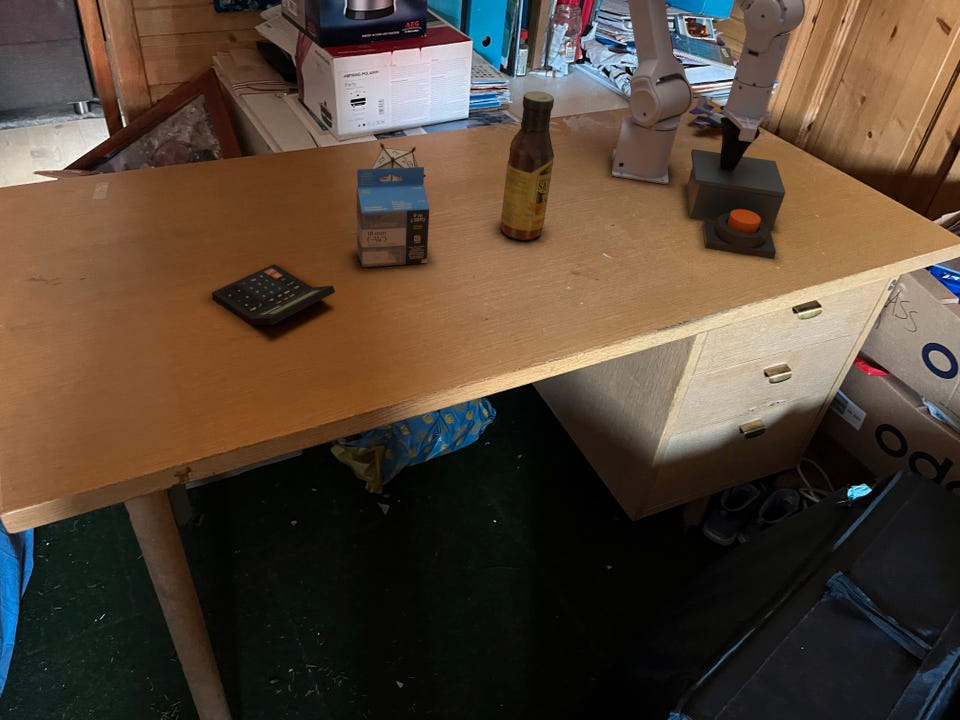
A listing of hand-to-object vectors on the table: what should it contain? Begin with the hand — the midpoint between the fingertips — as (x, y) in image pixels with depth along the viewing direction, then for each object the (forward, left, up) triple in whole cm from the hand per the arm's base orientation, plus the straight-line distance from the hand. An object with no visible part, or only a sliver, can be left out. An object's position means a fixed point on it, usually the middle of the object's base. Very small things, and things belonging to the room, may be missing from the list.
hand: (726, 167), depth 118 cm
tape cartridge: (-46, -31, -7) cm, 55 cm away
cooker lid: (+2, 0, -1) cm, 2 cm away
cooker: (+2, 0, -7) cm, 7 cm away
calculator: (-56, -45, -7) cm, 73 cm away
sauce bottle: (-30, -18, -7) cm, 35 cm away
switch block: (+2, -11, -7) cm, 13 cm away
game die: (-50, -14, -7) cm, 52 cm away
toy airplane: (+4, +33, -7) cm, 34 cm away
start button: (+3, -11, -4) cm, 12 cm away
